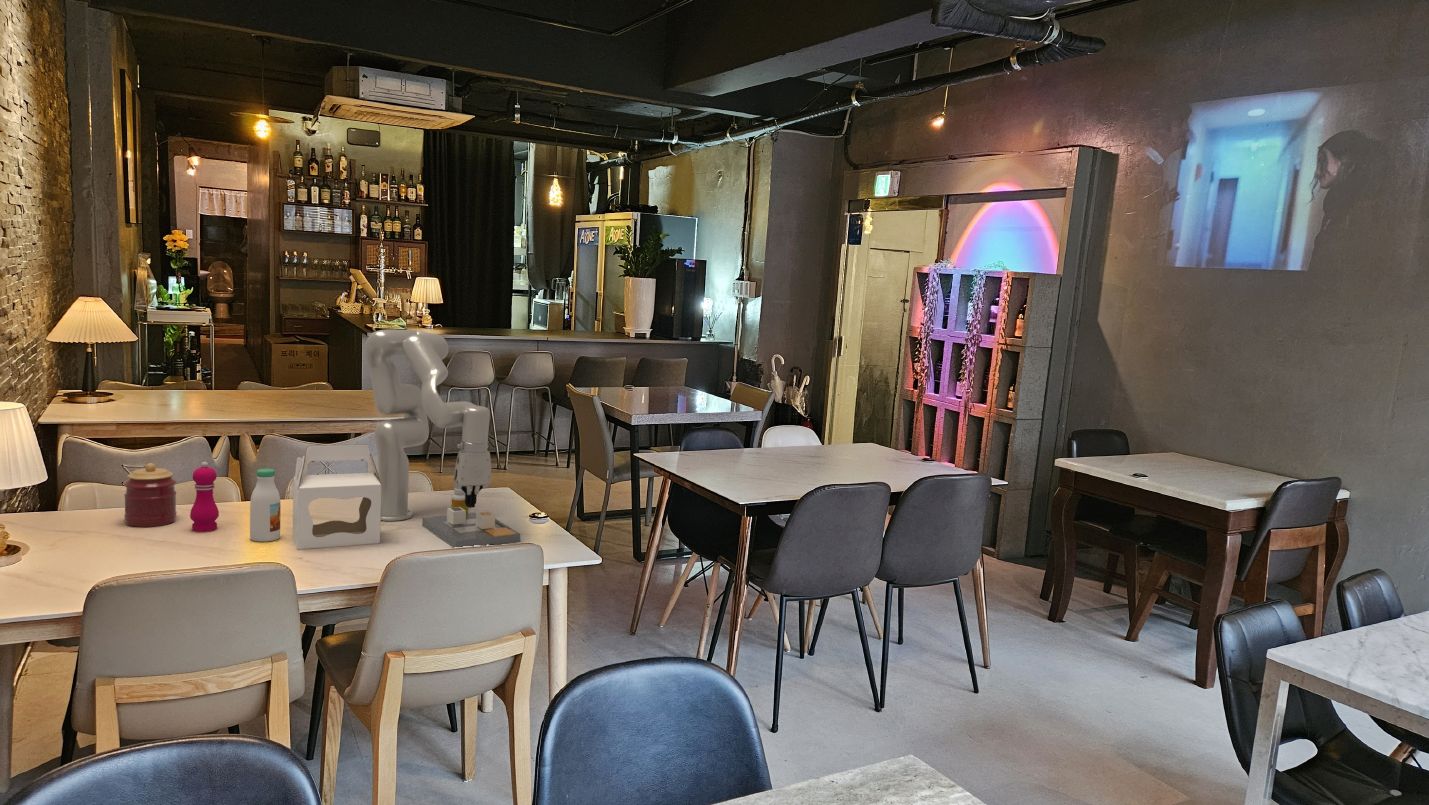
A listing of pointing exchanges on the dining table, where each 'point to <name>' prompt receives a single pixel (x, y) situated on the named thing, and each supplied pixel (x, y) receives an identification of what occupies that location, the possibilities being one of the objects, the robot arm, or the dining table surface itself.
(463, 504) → the supplement bottle
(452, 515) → the block
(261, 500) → the milk bottle
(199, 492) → the pepper mill
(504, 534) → the panel
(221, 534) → the dining table surface
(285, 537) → the dining table surface
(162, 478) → the canister
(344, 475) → the gable box
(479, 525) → the block
